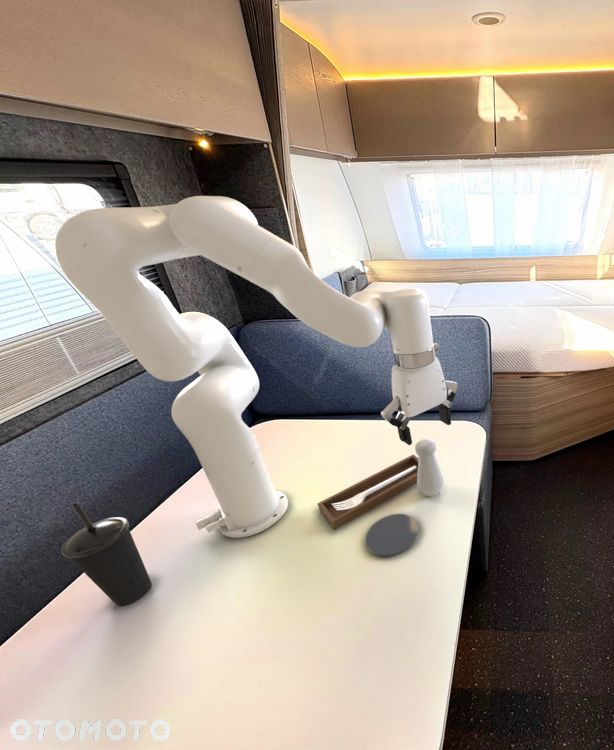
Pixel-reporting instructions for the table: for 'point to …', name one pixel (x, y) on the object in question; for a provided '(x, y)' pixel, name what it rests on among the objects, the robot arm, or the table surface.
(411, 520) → the coaster
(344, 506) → the fork
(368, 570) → the table surface
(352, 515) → the cutlery tray
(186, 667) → the table surface
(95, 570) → the drinking cup
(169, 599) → the table surface
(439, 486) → the salt shaker
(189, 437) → the robot arm
